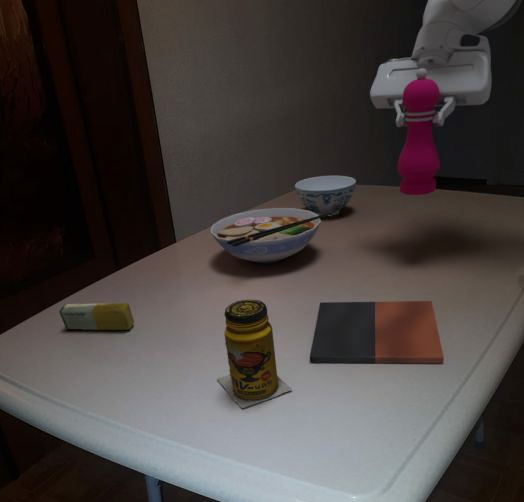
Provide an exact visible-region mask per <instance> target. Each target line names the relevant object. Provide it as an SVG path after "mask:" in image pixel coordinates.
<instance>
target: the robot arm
mask: <svg viewBox="0 0 524 502" xmlns="http://www.w3.org/2000/svg"><path fill="white" fill-rule="evenodd" d="M522 1H523V0H427V3H426V5H425V9H424V12H423V16H422V26H421V28H420V29H419V31H418V34H417V36H416V40H415V44H414V46H413V50H412V53H411V56H409V57H407V56H406V57H401V58H390V59H387V61H385V62H383V63H382V64H380V65H379V67H378V69H377V72H376V76H375V78H374V80H373V83H372V85H371V89H370V91H369V98H370V100H371V102H372V105H373V106H374V107H375V108H376V109H378V110H380V109H395V111H396V114H397V115H396V119H395V125H396V128H406V127H407V121H406V120H405V118H406V114H405V112H406V109H407V108H406V107H405V105H404V104H403V100H402V97H403V91H404V89H405V87H406V86H407V85H408V84H409V83H410V82H412V81H414V80H416V79H417V77H416V73H417V71H418V70H419V69H421V68H424V69H426V71H427V76H426V78H425V79H430V80H433V81H434V82H435V83H436V84H437V85H438V88H439V100H438V102H437V103H436V104H435V106H434V107H442V108H441V109H440V110H439V111H436V112H435V113H434V117H433V121H432V127H443V126H444V123H445V120H446V119H447V118H448V116H449V115H451V114H452V113H453V112H454V111H455V109H456V108H455V107H456V106H457V107H458V106H481V105H484V104H485V103H486V102H487V101H489V99H490V95H491V91H492V68H491V62H492V55H491V53H492V52H491V47H490V43H489V39H488V37H486V36H484V35H482V34H484V33H486V32H489V31H491V30H494V29H497V28H499V27H500V26H503V25H504V24H505V23H507V22H508V21H509V20H510V19H511V18H512V17H513V16H514V15H515V14H516V12H517V11H518V9H519V8H520V5H521V3H522Z"/></svg>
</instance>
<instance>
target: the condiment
mask: <svg viewBox="0 0 524 502" xmlns="http://www.w3.org/2000/svg"><path fill="white" fill-rule="evenodd" d="M224 318H225V325H226V327H225V329H224V340H225V343H224V345H225V347H226V354H227V363H228V367H229V374H227V375H224V376H221V377H218V378H216V380H217V381H218V382H219V384H220V385H221V386H222V387H223V388H224V389H225V390H226V391H227V393H228V394H229V396H230V397H231V398H232V399H233V400H234V401H235V402H236V403H237V405H238V406H239V407H240V408H241V409H244V408H247V407H250V406H254V405H257V404H259V403H263V402H265V401H267V400H271V399H273V398H275V397H278V396H281V395H282V394H285V393H288V392H290V391H293V389H292V387H290V385H288V384H287V383H286V382H285V381H284V380H283V379H282V378H281V377H279V375H278V371H277V361H276V351H275V343H274V333H273V327H272V323H271V321H270V320H269V314H268V306H267V305H266V303H265V302H263V301H262V300H259V299H242V300H238V301H235V302H232V303H230V304H229V305H227V307H226V308H225V310H224Z"/></svg>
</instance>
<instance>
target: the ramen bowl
mask: <svg viewBox="0 0 524 502" xmlns="http://www.w3.org/2000/svg"><path fill="white" fill-rule="evenodd" d="M331 214H333V213H328V215H331ZM328 215H327V214H324V215H320V216H319V215H317V214H315V213H313V211H311V210H307V209H301V208H295V207H271V208H270V207H269V208H261V209H253V210H248V211H243V212H238V213H234V214H232V215H228V216H226V217H224V218H221V219H219V220H217V221H216V222H215V223H213V224H212V225H211V227H210V234H211V235H212V237H213V239H214V240H215V241H216V242H217V243H218V244H219V246H220V247H222V249H224V250H225V251H226V252H227V253H229V254H230V255H231V256H233V257H235V258H238V259H240V260H244V261H249V262H253V263H257V264H273V263H277V262H280V261H283V260H284V259H286V258H288V257H291V256H293V255H296V254H297V253H299V252H300V251H302V250H303V249H304V248H305V247H306V246H307V245H308V244H309V243H310V241H312V239H313V238H314V237H315V235H316V233H317V231H318V230H319V227H320V225H321V223H322V220H321V218H326V217H325V216H328Z"/></svg>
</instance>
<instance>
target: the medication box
mask: <svg viewBox="0 0 524 502" xmlns="http://www.w3.org/2000/svg"><path fill="white" fill-rule="evenodd" d="M58 313H59V315H60V318H61V320H62V322H63V324H64V327H65V330H66V329H82V330H81V331H83V330H85V331H86V330H94V331H95V330H98V331H99V330H103V331H104V330H107V331H108V330H112V331H113V330H116V331H117V330H119V331H120V330H121V331H122V330H123V331H125V330H131V328H132V327H133V326H134V324H135V319H134V317H133V313H132V310H131V307H130V304H129V302H123V303H122V302H115V303H114V302H113V303H112V302H111V303H109V302H108V303H107V302H106V303H65V304H64V305H63V306H62V307H61V308H60V310H59V311H58Z"/></svg>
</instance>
